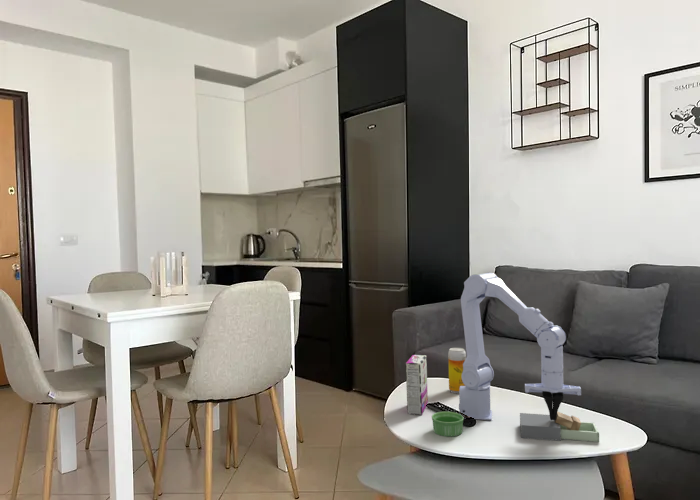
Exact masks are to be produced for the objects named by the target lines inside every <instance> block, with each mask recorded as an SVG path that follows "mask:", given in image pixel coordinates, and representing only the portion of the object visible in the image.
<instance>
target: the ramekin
mask: <svg viewBox="0 0 700 500" xmlns="http://www.w3.org/2000/svg"><path fill="white" fill-rule="evenodd" d="M464 420H465V418H464V417H463V416H462V415H461V414H460V412H459V413H457V412H455V411H438V412H435V413H433V414H432V415H431V421H432V426H433V432H434V433H435V434H436V435H438V436H440V437H447V438H449V437H451V438H452V437H453V438H454V437H457V436H461V435H462V433H463V426H464V424H463V423H464Z"/></svg>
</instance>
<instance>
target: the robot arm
mask: <svg viewBox="0 0 700 500" xmlns="http://www.w3.org/2000/svg"><path fill="white" fill-rule="evenodd" d="M463 285H464V288H463V291H462V294H461V296H460V306H461V315H462V324H463V331H464V334H463V335H464V341H465V352H466V359H465V361H464V363H463V372H462V381H463V383H464V385H465V386H460V390H459V393H458V394H459V395H458V396H459V397H458V399H459V404H458V410H459V413H460V412H461V413H463V414H465V415H467V416H470V417H472V418H474V419H473V420H483V421H492V420H493V411H492V409H491V382H492V380H493V379H494V377H495V372H494V369H493V367H492V366H491V362H490V358H489V357H488V356H487V355H486V350H485V343H484V334H483V327H482V326H483V325H482V319H481V317H482V316H481V309H480V303H481V302H483V300H485V298H486V297H490V298H497V299H499V301H501V302H502V303H503V304H504V305H506V306H507V307H508V308H509V309H510V310H511V311H513V312H514V313H515V314H517V316H518V321H519V323H520V324H521V325H522V326H524V328H525V329H527V330H528V331H529V332H530V334H532V335H533V336H534V337H535V338H536V342H537V345H538V346H539V347H540V362H541V363H540V367H541V369H540V372H541V375H540V377H541V380H540V381H541V383H524V392H525V393H527V394H528V393H540V394H542V397H543V400H544V402H545V404H546V406H547V410H548V412H549V414H548V415H550V420H556V415H557V411H558V412H559V408H560V406H561V404H562V403H563V400H564V395H577V396H582V388H581V386H579V385H578V386H577V385H576V386H575V385H569V384H564V351H563V350H564V346H563V345H564V344H565V342H566V340H567V334H566V332H565V331H564V329H562V327H561V326H559V325H554V322H553V321H549V320H548V319H547V318H546V317H545V316H544V315H543V314H542V313H541V312H542V311H541V310H540V309H539V308H535V307H531V306H530V307H529V306H528V307H527V305H526V304H525V303H524V302H522V300H521V299H520V298H519V297H518V296H516V295H517V294H515V293H514V292H513V291H512V290H511V289H510V288H509V287H508V286H507V285H506V284H505V282H504V281H503V280H502V279H501V278H500V277H498V276H497V274H496V273H493V272H491V271H489V272H488V271H487V272H484V273H479V274H471V275H470V276H469V277H468V278H467V279H465V281H464V282H463Z"/></svg>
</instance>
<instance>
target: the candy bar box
mask: <svg viewBox="0 0 700 500" xmlns="http://www.w3.org/2000/svg"><path fill="white" fill-rule="evenodd" d="M427 363H428V362H427V355H425V354H424V355H422V354H412V355H411V357H409V359H408V360H407V361H406V362H405V380H406V381H405V382H406V405H407V406H406V409H407V410H406V412H407V415H414V414H415V415H416V416H419V415H420V416H422V415H423V413H424V412H425V409H426V408H427V406H428V405H427V403H428V404H429V400H428V399H429V397H428V366H427ZM426 405H427V406H426Z"/></svg>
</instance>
